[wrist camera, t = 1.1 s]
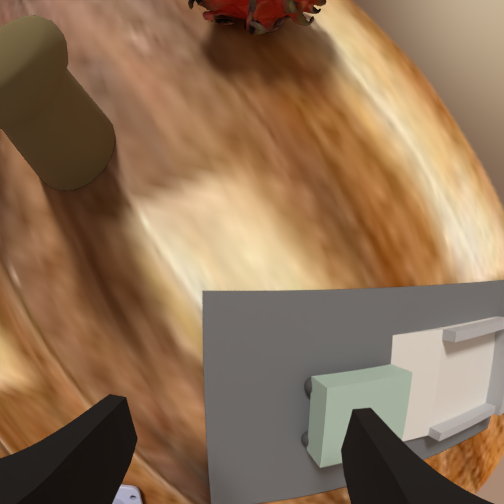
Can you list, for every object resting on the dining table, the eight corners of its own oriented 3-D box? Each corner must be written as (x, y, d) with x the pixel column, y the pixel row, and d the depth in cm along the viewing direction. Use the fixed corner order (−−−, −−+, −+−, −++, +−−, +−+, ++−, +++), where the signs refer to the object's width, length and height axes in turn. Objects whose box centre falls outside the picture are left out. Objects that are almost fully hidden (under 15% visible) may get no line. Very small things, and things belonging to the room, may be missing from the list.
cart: (379, 427, 20) (404, 444, 16) (298, 444, 18) (315, 468, 15) (387, 360, 20) (415, 371, 17) (301, 372, 19) (322, 388, 16)
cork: (87, 204, 17) (-7, 131, 7) (21, 173, 17) (-76, 101, 6) (131, 123, 18) (95, 0, 8) (64, 99, 18) (6, -5, 7)
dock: (482, 425, 23) (506, 435, 19) (210, 499, 18) (215, 532, 14) (500, 280, 24) (528, 279, 21) (202, 290, 19) (204, 293, 15)
